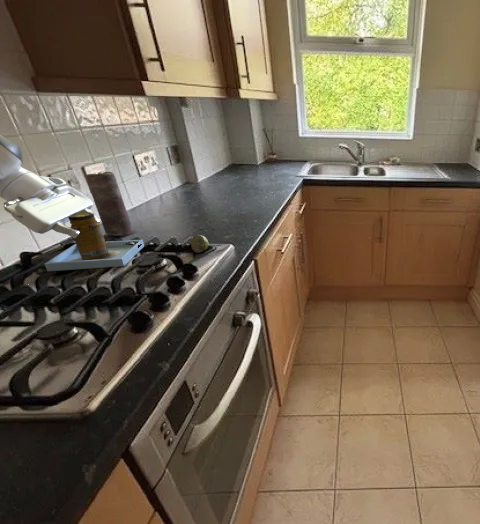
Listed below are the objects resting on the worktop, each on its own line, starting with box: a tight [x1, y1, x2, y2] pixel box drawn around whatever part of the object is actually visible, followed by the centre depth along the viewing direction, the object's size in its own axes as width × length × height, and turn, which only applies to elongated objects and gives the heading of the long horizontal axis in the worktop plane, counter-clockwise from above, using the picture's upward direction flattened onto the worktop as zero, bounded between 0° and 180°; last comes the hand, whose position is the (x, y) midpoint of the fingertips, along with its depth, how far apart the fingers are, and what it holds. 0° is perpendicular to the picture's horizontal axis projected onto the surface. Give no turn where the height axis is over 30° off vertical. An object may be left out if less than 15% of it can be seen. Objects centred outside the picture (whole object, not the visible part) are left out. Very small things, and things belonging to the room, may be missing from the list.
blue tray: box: [44, 239, 145, 272], centre depth 91 cm, size 17×14×2 cm
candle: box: [84, 171, 134, 237], centre depth 104 cm, size 8×7×20 cm
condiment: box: [69, 212, 122, 261], centre depth 89 cm, size 7×8×12 cm
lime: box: [190, 234, 210, 254], centre depth 96 cm, size 4×5×5 cm
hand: (89, 229), depth 88 cm, fingers open, 8 cm apart
